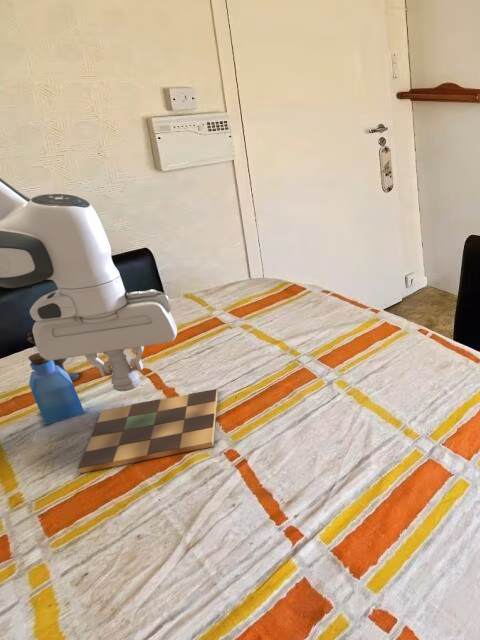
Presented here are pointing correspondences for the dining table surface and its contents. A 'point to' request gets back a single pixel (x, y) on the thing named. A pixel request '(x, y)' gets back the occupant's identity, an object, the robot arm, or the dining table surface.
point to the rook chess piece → (122, 372)
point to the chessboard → (151, 430)
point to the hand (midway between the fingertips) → (122, 372)
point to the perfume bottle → (53, 390)
